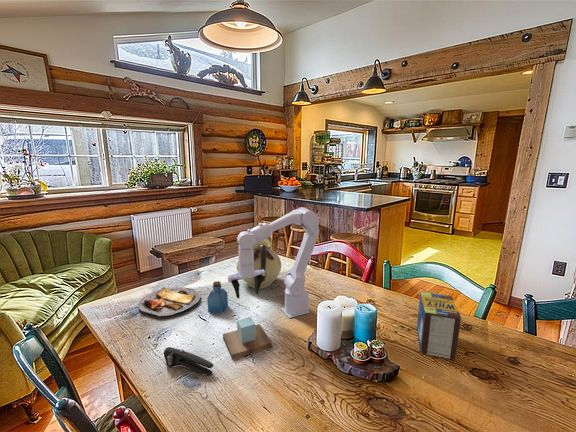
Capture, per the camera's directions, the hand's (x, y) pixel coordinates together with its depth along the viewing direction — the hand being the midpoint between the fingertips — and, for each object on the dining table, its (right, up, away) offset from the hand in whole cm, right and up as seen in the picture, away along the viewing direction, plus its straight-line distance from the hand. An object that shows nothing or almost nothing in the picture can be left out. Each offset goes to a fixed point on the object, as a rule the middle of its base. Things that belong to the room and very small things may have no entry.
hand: (247, 295), depth 113 cm
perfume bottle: (-14, -9, +10) cm, 19 cm away
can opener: (-15, -16, -24) cm, 32 cm away
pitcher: (+2, -4, +34) cm, 34 cm away
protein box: (+67, -14, -12) cm, 70 cm away
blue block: (+2, -11, -12) cm, 17 cm away
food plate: (-36, -8, +14) cm, 40 cm away
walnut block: (+2, -14, -12) cm, 19 cm away
